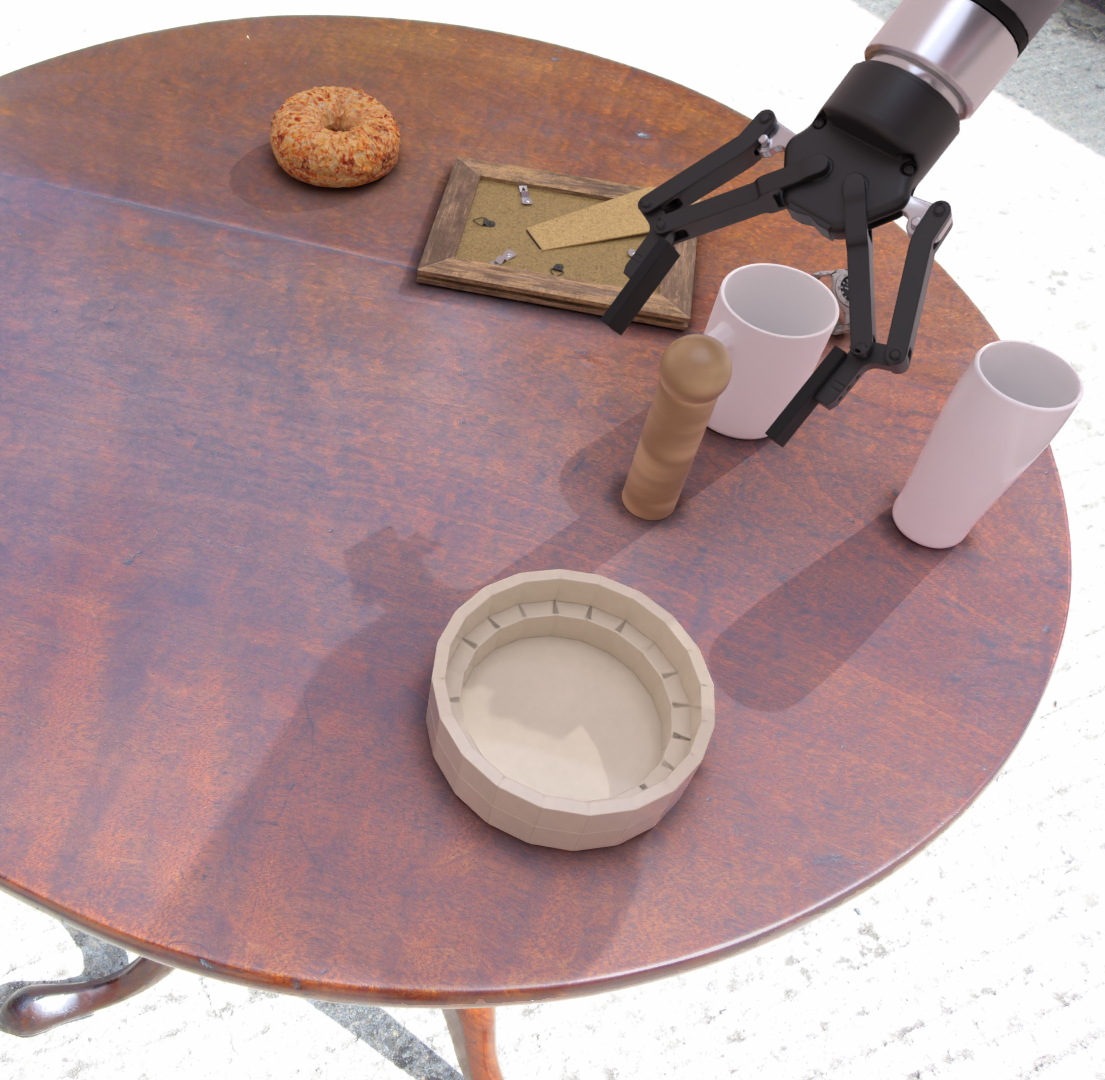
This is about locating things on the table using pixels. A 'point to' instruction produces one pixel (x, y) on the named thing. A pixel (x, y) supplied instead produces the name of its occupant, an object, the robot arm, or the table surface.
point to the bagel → (334, 137)
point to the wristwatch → (839, 295)
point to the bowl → (568, 708)
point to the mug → (767, 342)
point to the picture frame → (548, 241)
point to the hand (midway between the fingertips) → (688, 382)
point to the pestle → (676, 423)
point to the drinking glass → (985, 439)
